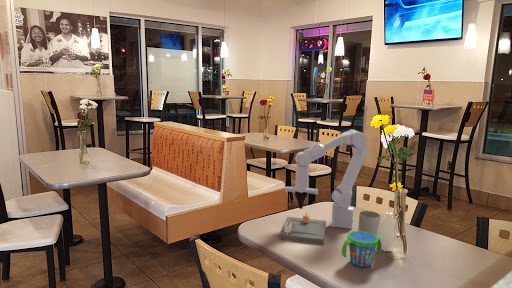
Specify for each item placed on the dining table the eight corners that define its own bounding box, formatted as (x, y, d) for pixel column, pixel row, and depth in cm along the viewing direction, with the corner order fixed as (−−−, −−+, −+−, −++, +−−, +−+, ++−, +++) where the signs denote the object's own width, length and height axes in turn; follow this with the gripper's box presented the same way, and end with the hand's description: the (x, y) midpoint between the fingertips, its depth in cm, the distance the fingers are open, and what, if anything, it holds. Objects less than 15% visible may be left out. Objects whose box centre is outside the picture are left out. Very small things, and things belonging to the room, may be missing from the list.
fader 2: (309, 219, 164) (309, 213, 164) (308, 223, 160) (308, 216, 160) (303, 219, 165) (304, 212, 164) (302, 222, 161) (303, 215, 160)
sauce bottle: (378, 244, 146) (382, 201, 143) (399, 249, 141) (403, 206, 138) (372, 251, 139) (376, 207, 136) (393, 257, 135) (397, 211, 132)
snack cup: (372, 254, 137) (374, 229, 135) (388, 268, 127) (391, 241, 125) (334, 258, 133) (336, 232, 132) (348, 272, 123) (349, 244, 121)
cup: (375, 233, 157) (377, 211, 155) (380, 241, 149) (382, 218, 147) (356, 232, 157) (357, 210, 156) (359, 240, 149) (361, 217, 148)
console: (326, 224, 165) (326, 220, 164) (323, 244, 145) (323, 239, 144) (287, 220, 169) (287, 216, 169) (279, 238, 149) (279, 234, 148)
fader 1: (291, 229, 153) (292, 222, 153) (290, 232, 149) (290, 225, 149) (286, 228, 154) (286, 221, 153) (284, 232, 150) (284, 225, 149)
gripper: (284, 179, 158) (283, 209, 160) (317, 182, 155) (316, 212, 157) (286, 176, 165) (286, 204, 167) (318, 178, 161) (317, 207, 164)
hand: (300, 208), depth 162 cm, fingers closed
